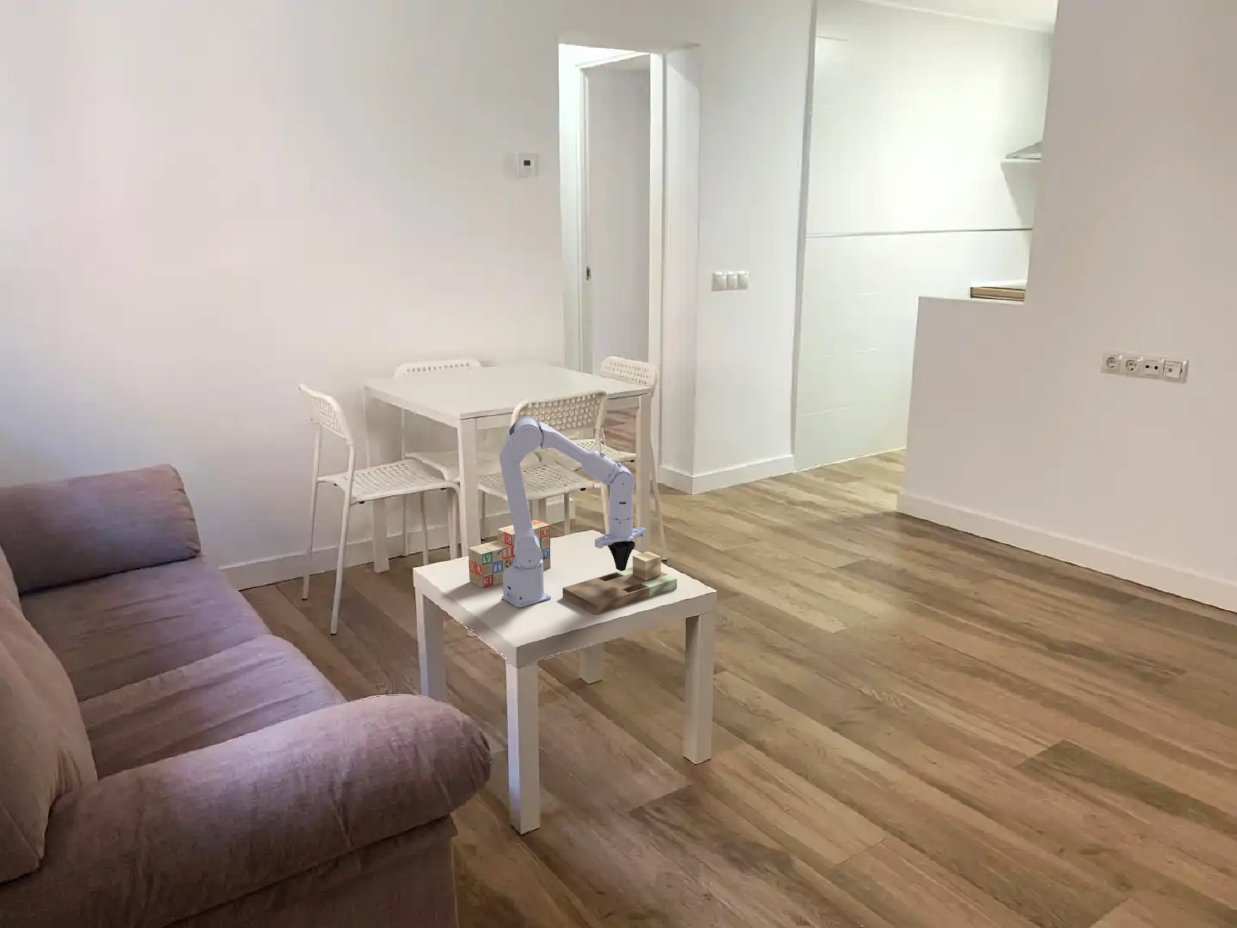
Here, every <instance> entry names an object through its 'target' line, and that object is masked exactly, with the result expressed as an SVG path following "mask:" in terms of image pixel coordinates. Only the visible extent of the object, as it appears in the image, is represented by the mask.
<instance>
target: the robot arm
mask: <svg viewBox="0 0 1237 928" xmlns="http://www.w3.org/2000/svg"><path fill="white" fill-rule="evenodd" d="M538 447H540V449H541V450H545V449H551V448H553V449H555V451H556V450H557V451H558V452H560V453H562V454H563V455H565V456H568V457H569V458H571V459H573V460H574V461H576V462H578V463H579V464H580V466H581V470H582V472H584V473H586V474H588V475H589V476H590V477H592V478H594V479H596V480H597V481H599V482H600V483H601V484H604V485H609V486H610V487H609V498H608V503H609V504H608V505H609V506H608V513H609V514H608V520H609V521H608V532H607V533H606V534H604V535H601V536H600V537H597V538H594V547H595V548H598V549H603V548H604V547H607V548H608V549H609V551H610V553H611V555H612V558H613V561H614V565H615V570H618V571H624V570H625V569H627V567H628V566H627V565H628V562H629V558H630V556H631V554H632V552H633V550H634V548H635V547H636V542H635V541H634V540H635V539H637V538H640V537H641V538H646V537H647V528H646V527H641V526H640V527H634V522H633V521H634V497H633V495H634V492H633V491H634V489H635V488H636V482H635V478H634V475H633V474H632V473H631V470H629V468H627V467H626V465H623V464H622V463H621V462H620V461H617V462H615V461H614V460H612V459H610V458H609V457H607V456H606V453H605V452H604V451H602V450H599V451H597V450H595V449H593V450H586V449H584V448H583V447H582V446H580V445H578V444H577V443H575V442H574V441H572V440H571V439H570V438H568V437H567V436H565V435H563V434H562V433H560V432H559V431H558V430H557V429H555V428H554V427H551V426H549V425H547V424H546V423H545V422H543V421H539V422H538V421H537V419H536V418H534V417H532V416H529V415H528V416H527V415H526V416H521V417H519V418H518V419H517V420H515V422H514V423H513V424H512V425H511V426H510V427H509V428H508V432H507V435H506V438H505V440H504V443H503V444H502V447H501V450H500V452H499V464H500V469H501V473H502V478H503V482H504V488H505V492H506V493H505V494H506V499H507V503H508V507H509V511H510V512H509V513H510V516H511V522H512V525H513V527H514V532H515V540H514V548H515V559H514V560H513V564H512V566H510V567H509V568H507V569H505V570H504V572H503V582H502V593H503V594H502V596H501V599H503V600H505V601H506V602H508V603H510V604H512V605H513V606H515V607H517V608H523V607H527V606H529V605H533V604H536V603H540V602H543V601H547V600H549V599H552V596H551V595H550V594H548V593H546V592H545V588H544V587H545V585H544V582H545V581H544V579H545V578H544V570H543V560H542V559H541V558H542V552H541V549H540V541H539V538H538V536H537V535H536V534H535V533H534V531H533V526H532V522H531V521H532V518H531V513H530V507H529V503H528V497H527V493H526V488H525V483H524V478H523V473H522V469H521V463H522V461H523V460H524V458H526V456H527V455H528V454H530V453H531V452H534V451H535V450H536V449H538ZM633 527H634V528H633Z"/></svg>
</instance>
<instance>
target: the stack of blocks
mask: <svg viewBox="0 0 1237 928" xmlns="http://www.w3.org/2000/svg"><path fill="white" fill-rule="evenodd" d="M531 522H532V526H533V531H534V533H535V534H536V535H537V536H538V538H539V541H540V549H541V552H542V558H541V559H542V560H543V571H546V570H549V569H551V536H550V534H551V531H550V528H551V527H550V524H548V523H547V522H544V521H541V520H537V519H533V520H532V519H531ZM514 540H515V532H514V527H513V524H511V525H508V526H505V527H504V526H503V527H500V528H497V540H494V541H490V542H485V543H482V544H478V545H474V546H471V547H468V575H469V582H470V583H472V584H473V585H475V586H478V587H479V588H481V589H484V588H488V587H492V586H495V585H499V584H503V572H504V570H505V569H507V568H509V567H510V566H512V564H513V560H514V559H515V548H514Z"/></svg>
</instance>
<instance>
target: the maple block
mask: <svg viewBox="0 0 1237 928" xmlns="http://www.w3.org/2000/svg"><path fill="white" fill-rule="evenodd" d="M632 567H633V575H635V576H637V577H639V578H642V579H644V580H648V579H651V578H655V577H658V576H661V572H662V556H660V555H658V554H655V553H653V552H650V551H645V552H641V553H639V554H634V555H632Z"/></svg>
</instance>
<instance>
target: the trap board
mask: <svg viewBox="0 0 1237 928" xmlns="http://www.w3.org/2000/svg"><path fill="white" fill-rule="evenodd" d="M677 588H678V578H677V577H674V576H672V575H670V574H667V573H665V572H664V571H661V576H658V577H655V578H651V579H648V580H644V579H642V578H639V577H637V576H635V575H633V566H632V567H629V568H626V569H625V570H624V571H619V570H618V571H614V572H611V573H607V574H605V575H601V576H598V577H594V578H591V579H588V580H585V581H581V582H577V583H574V584H570V585H566V586H564V587H562V598H563V599H565V600H567V601H569V602H571V603H572V604H575V605H577V606H578V607H580V608H583V609H584V610H586V611H588V612H590V613H592V614H593V615H598V614H602V613H604V612H608V611H611V610H613V609H616V608H619V607H623V606H626V605H629V604H632V603H635V602H638V601H641V600H644V599H647V598H651V597H653V596H657V595H660V594H663V593H665V592H669V591H672V590H675V589H677Z"/></svg>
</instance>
